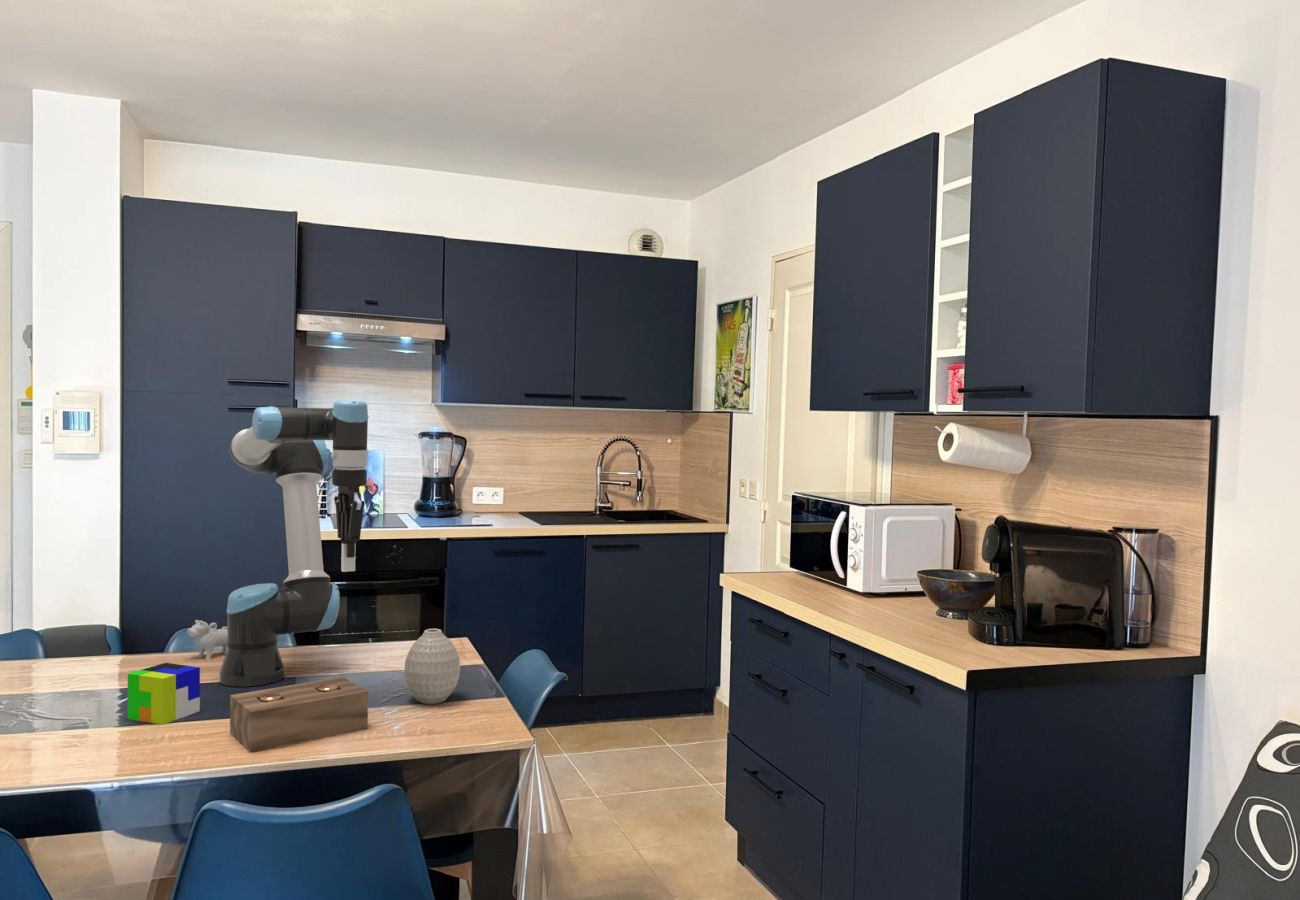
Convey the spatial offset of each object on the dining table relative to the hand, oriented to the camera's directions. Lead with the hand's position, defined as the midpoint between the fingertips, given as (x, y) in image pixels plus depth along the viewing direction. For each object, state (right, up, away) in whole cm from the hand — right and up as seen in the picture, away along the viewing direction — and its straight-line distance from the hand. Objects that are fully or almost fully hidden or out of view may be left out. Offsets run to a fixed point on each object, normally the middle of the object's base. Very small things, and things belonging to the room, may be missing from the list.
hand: (348, 570), depth 212 cm
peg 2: (0, -31, -12) cm, 33 cm away
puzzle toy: (-38, -31, -7) cm, 50 cm away
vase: (+18, -32, +7) cm, 37 cm away
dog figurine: (-51, -29, +43) cm, 73 cm away
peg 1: (-10, -31, -20) cm, 38 cm away
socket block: (-5, -32, -16) cm, 36 cm away
